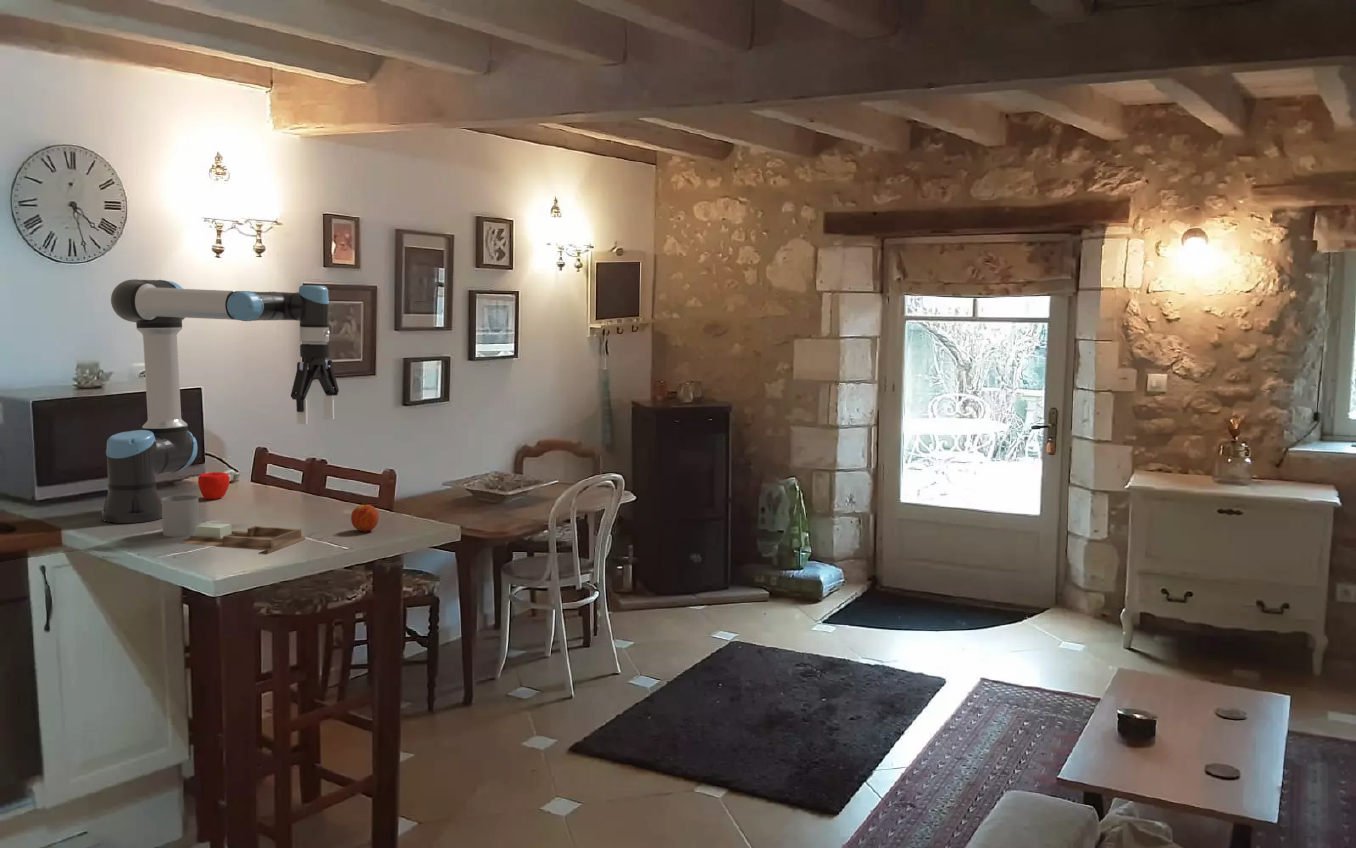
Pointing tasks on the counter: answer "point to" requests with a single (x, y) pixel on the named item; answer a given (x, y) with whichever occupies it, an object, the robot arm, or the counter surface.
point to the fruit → (364, 517)
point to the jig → (253, 539)
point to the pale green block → (213, 530)
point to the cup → (180, 515)
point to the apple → (213, 484)
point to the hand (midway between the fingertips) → (316, 421)
